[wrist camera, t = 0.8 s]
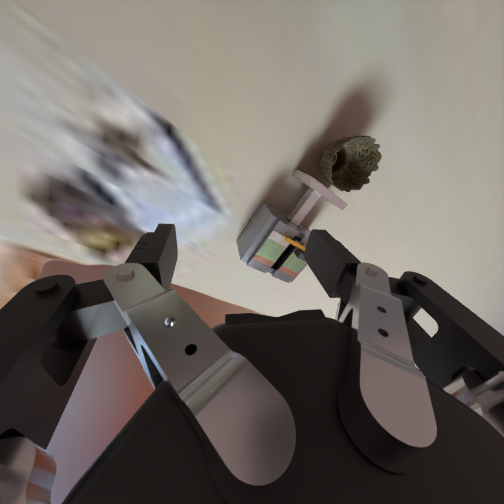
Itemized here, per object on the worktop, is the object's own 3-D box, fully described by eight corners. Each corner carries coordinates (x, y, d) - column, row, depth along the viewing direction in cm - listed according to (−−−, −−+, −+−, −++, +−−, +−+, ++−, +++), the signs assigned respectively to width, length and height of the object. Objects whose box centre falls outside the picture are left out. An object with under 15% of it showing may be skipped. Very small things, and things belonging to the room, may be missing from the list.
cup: (324, 124, 31) (355, 124, 25) (357, 146, 34) (392, 150, 27) (300, 170, 35) (321, 180, 28) (331, 186, 37) (357, 199, 31)
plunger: (296, 169, 34) (319, 180, 27) (327, 192, 37) (354, 208, 30) (264, 216, 38) (277, 237, 31) (295, 233, 41) (312, 256, 34)
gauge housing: (262, 200, 36) (273, 217, 30) (308, 228, 41) (326, 248, 35) (236, 241, 40) (241, 263, 33) (281, 262, 45) (293, 285, 38)
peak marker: (297, 248, 34) (301, 253, 32) (305, 252, 34) (308, 257, 33) (293, 252, 34) (297, 257, 33) (301, 256, 35) (305, 261, 33)
